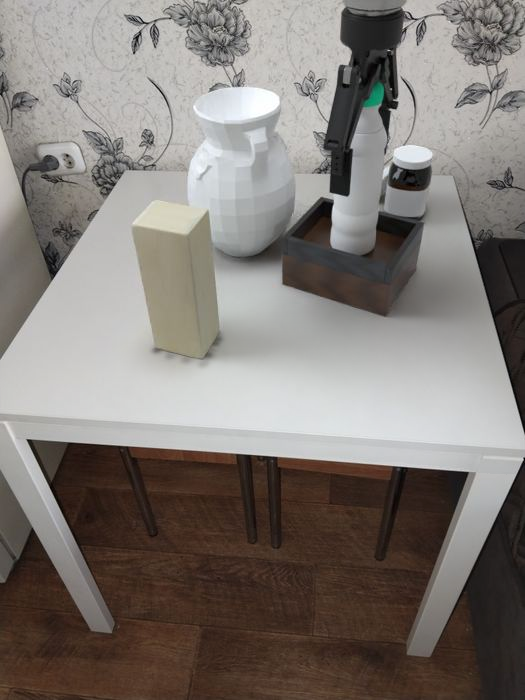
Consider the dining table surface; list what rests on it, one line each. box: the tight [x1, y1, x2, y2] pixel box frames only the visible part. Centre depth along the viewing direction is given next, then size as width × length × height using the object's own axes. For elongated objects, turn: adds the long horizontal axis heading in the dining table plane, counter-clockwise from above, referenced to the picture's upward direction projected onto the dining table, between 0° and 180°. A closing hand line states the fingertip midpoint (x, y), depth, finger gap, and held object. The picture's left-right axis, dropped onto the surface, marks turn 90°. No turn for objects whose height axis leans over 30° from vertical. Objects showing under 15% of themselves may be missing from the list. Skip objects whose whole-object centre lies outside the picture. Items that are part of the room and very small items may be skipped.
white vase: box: [186, 86, 297, 258], centre depth 98 cm, size 19×18×25 cm
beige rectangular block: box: [130, 199, 221, 360], centre depth 81 cm, size 8×7×21 cm
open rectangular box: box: [281, 196, 425, 318], centre depth 95 cm, size 18×14×9 cm
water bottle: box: [330, 82, 388, 256], centre depth 85 cm, size 7×7×25 cm
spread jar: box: [380, 144, 434, 221], centre depth 109 cm, size 12×11×12 cm
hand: (358, 172), depth 85 cm, fingers open, 13 cm apart
